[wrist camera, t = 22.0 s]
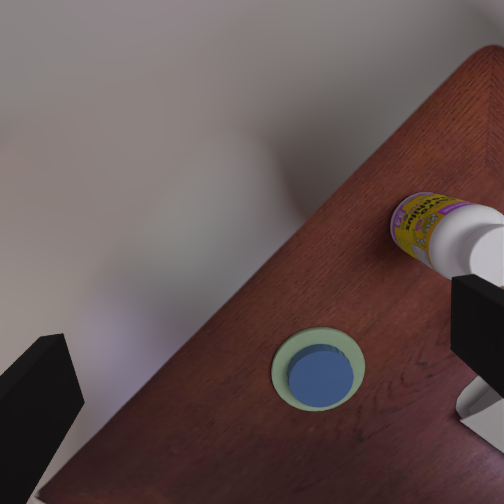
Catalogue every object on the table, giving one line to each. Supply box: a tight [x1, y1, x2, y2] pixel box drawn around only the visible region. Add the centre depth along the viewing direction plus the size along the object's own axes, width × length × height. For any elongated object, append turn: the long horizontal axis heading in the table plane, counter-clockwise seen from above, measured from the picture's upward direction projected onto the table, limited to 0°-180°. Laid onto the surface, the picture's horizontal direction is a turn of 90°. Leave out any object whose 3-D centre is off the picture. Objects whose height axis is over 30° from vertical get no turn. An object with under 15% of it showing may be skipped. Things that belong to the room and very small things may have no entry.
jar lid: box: [287, 344, 354, 408], centre depth 42 cm, size 8×8×2 cm
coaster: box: [271, 327, 365, 411], centre depth 44 cm, size 11×11×1 cm
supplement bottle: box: [390, 192, 504, 287], centre depth 33 cm, size 7×7×13 cm
